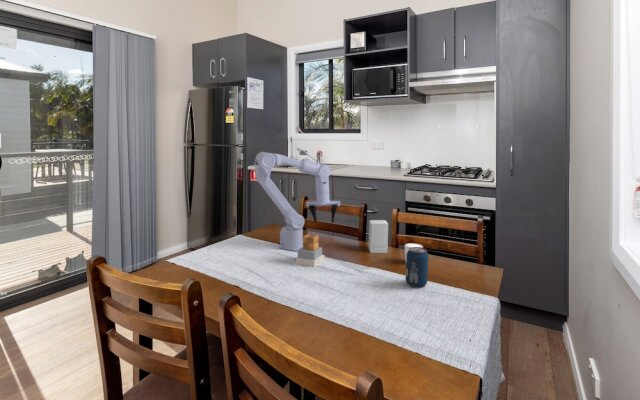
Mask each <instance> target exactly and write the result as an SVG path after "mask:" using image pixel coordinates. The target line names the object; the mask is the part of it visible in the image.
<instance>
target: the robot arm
mask: <svg viewBox="0 0 640 400" xmlns="http://www.w3.org/2000/svg"><path fill="white" fill-rule="evenodd" d="M253 164H254V168H255V179H256V181H257V182H258V183H259V185H260V187H262V189H263V191H265V192H266V194H267V195H268V197H270V199H271V201H272V202H273V203H274V205H275V206H276V207H277V209H279V211H280V213H281V215H282V216H283V218H284V222H285V223H286V226H283V227H282V228H281V229H280V232H279V242H280V243H279V247H278V248H279V249H281V250H286V251H287V250H289V251H292V252H298V250H299V249H300V248H302V247H303V237H304V236H303V235H304V231H303V229H304V225H305V217H304V216H303V215H301V214H299V213H298V212H297V211H296V209H294V207H293V206H292V205H291V204H290V202H289V201H288V200H287V199H286V197H285V196H284V195H283V194H282V192H281V190H279V188H278V187H277V186H276V184H275V182H274V181H273V180H272V179H271V172H272V170H273V168H274V167H275V166H278V165H281V164H283V165H286V166H290V167H294V168H297V169H298V171H299V172H300V173H304V174H306V175H307V174H308V175H311V176H315V196H316V200H313V201H307V202H306V207H307V208H308V207H309V208H308V210H309V212H310V213H311V215H312V218H313V221H314V223H317V221H318V219H317V207H330V211H331V223H334V222H335V216H336V212H337V209H338V207H340V206H341V201H340V200H330V183H329V182H330V181H329V180H330V179H329V178H330V177H329V176H331V172H332V171H331V170H330V168H329V165H328V164H327V165H326V164H322V163H320V161H313V160H311V158H308V157H307V158H302V159H301V160H298V159H295V158H292V157H289V156H287V155H283V154H280V153H274V152H266V151H259V153H257V154H256V156H255V158H254V162H253Z"/></svg>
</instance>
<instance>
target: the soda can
mask: <svg viewBox="0 0 640 400" xmlns="http://www.w3.org/2000/svg"><path fill="white" fill-rule="evenodd" d="M428 271H429V253H428V250H427V248H424V247H423V248H421V247H411V248H409V251H408V252H407V259H406V263H405V282H406V284H407V285H408V286H409V287H410V288H414V289H415V288H416V289H420V288H422V289H423V288H425V286H426V285H427V284H428V277H429V276H428V273H429V272H428Z"/></svg>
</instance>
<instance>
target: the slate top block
mask: <svg viewBox="0 0 640 400" xmlns="http://www.w3.org/2000/svg"><path fill="white" fill-rule="evenodd" d="M321 255H323V247H321V246H318V248H317V249H316V250H315V251H311V250H303V247H302V248H300V249H299V250H298V251H297V257H298V258H303V259H310V260H315V259H317V258H318V257H320V256H321Z"/></svg>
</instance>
